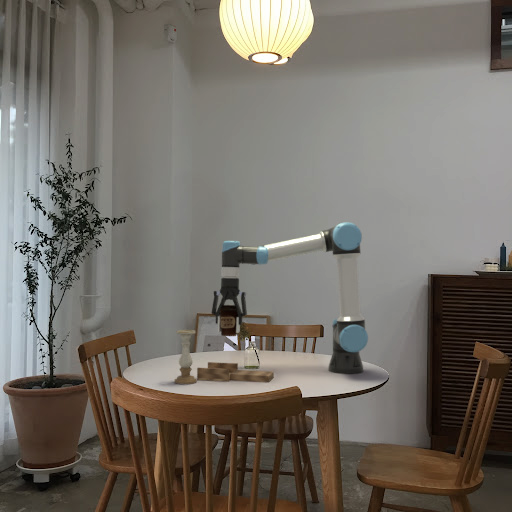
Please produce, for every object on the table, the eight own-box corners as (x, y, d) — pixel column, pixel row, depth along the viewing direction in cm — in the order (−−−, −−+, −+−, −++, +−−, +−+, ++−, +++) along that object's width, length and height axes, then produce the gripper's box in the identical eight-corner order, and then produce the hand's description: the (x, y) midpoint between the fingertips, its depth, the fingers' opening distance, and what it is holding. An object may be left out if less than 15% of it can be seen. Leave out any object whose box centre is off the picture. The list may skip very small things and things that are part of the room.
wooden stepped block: (274, 376, 241) (274, 365, 242) (267, 383, 227) (267, 371, 227) (208, 373, 248) (208, 362, 248) (197, 379, 233) (197, 367, 233)
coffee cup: (235, 337, 237) (236, 306, 237) (216, 336, 239) (217, 305, 239) (240, 335, 246) (241, 304, 246) (222, 334, 247) (223, 304, 248)
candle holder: (176, 384, 223) (176, 332, 224) (172, 380, 232) (173, 329, 232) (198, 383, 226) (198, 331, 226) (194, 379, 234) (194, 329, 234)
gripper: (255, 278, 244) (254, 332, 243) (210, 276, 249) (208, 329, 248) (251, 278, 237) (249, 334, 236) (204, 276, 241) (202, 331, 241)
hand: (228, 332), depth 242 cm, fingers closed on coffee cup, 7 cm apart
